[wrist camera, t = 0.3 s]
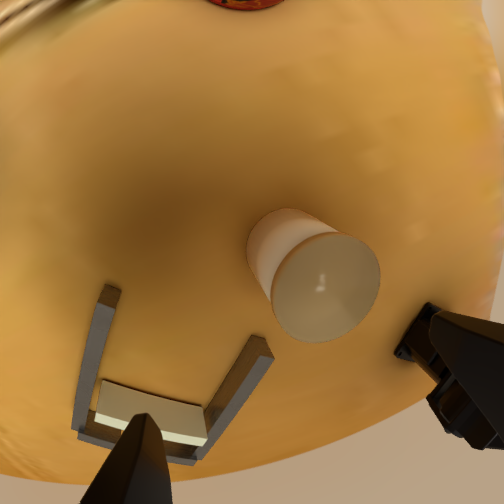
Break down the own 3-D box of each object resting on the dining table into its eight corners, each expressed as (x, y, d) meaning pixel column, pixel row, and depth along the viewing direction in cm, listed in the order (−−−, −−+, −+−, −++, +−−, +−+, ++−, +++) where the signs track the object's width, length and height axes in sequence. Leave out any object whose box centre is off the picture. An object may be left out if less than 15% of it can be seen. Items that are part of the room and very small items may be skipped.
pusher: (202, 407, 23) (207, 439, 20) (181, 440, 25) (185, 469, 21) (102, 379, 20) (96, 412, 17) (93, 417, 21) (88, 447, 18)
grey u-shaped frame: (265, 338, 23) (276, 363, 20) (196, 443, 26) (199, 466, 23) (105, 283, 18) (95, 306, 15) (75, 412, 21) (69, 436, 18)
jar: (338, 227, 21) (397, 262, 15) (299, 297, 22) (341, 352, 16) (269, 190, 19) (315, 215, 13) (228, 270, 20) (253, 327, 14)
